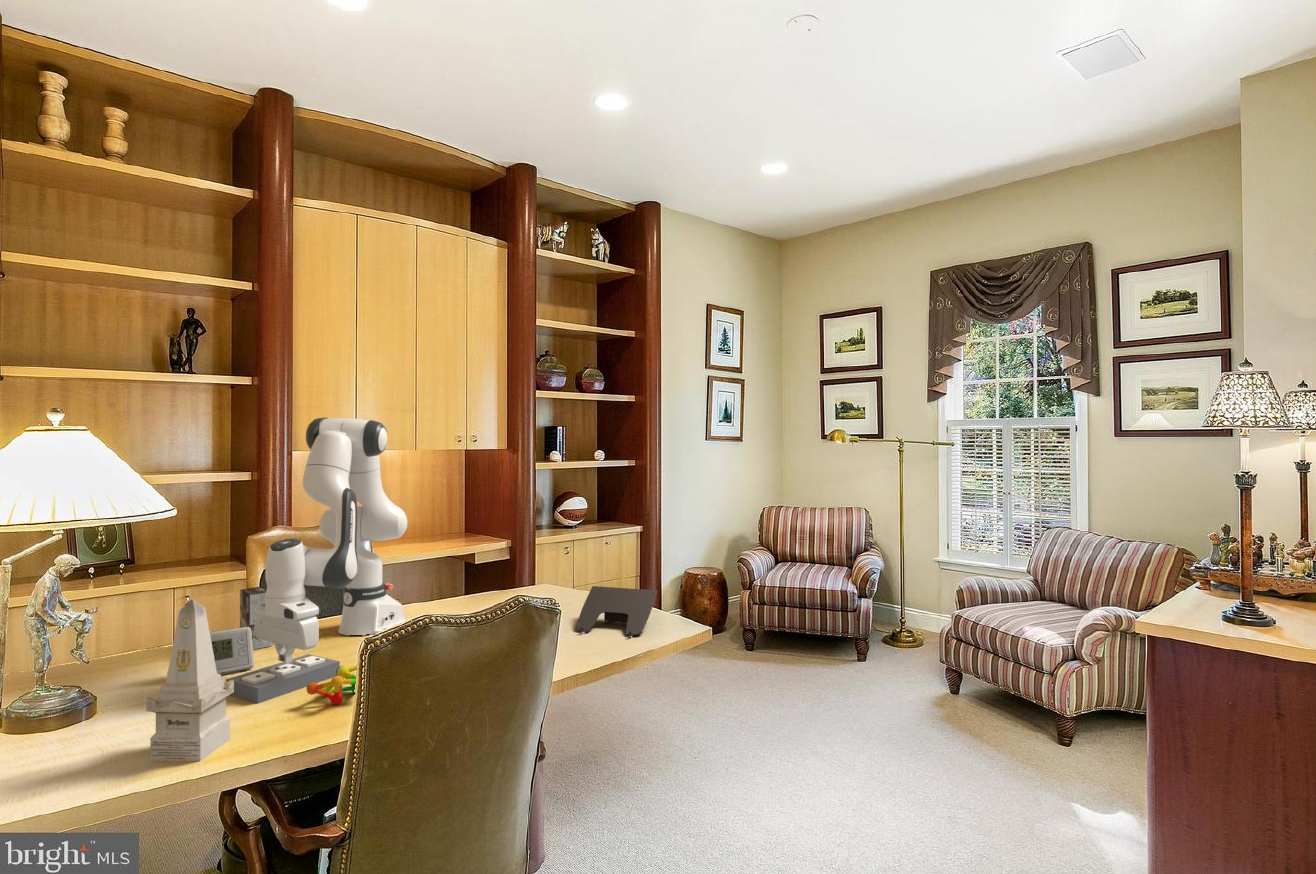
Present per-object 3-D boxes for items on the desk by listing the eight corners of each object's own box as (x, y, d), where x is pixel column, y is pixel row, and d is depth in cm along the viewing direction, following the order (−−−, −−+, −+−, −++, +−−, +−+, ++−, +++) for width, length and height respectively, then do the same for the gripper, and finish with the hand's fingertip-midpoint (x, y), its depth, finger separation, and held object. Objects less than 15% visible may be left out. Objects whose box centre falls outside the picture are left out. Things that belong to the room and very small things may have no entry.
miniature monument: (146, 761, 136) (146, 604, 136) (182, 738, 147) (183, 592, 146) (201, 762, 136) (202, 605, 136) (233, 738, 147) (234, 592, 146)
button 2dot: (312, 667, 187) (312, 655, 187) (325, 670, 185) (325, 658, 185) (295, 672, 183) (295, 660, 183) (308, 676, 181) (308, 663, 181)
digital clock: (178, 684, 177) (179, 641, 177) (181, 673, 185) (181, 632, 184) (254, 673, 185) (254, 632, 185) (253, 663, 193) (253, 624, 193)
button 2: (287, 675, 181) (287, 662, 181) (300, 678, 179) (300, 666, 179) (269, 681, 177) (269, 668, 177) (282, 684, 174) (282, 672, 174)
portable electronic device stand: (574, 649, 228) (570, 627, 224) (595, 602, 248) (591, 580, 244) (644, 655, 223) (641, 633, 219) (659, 606, 243) (657, 585, 239)
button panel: (308, 667, 190) (308, 654, 190) (339, 674, 185) (339, 661, 185) (226, 693, 171) (226, 679, 171) (258, 703, 165) (258, 688, 165)
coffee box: (273, 646, 208) (273, 591, 208) (249, 651, 203) (249, 594, 203) (262, 639, 214) (262, 585, 214) (238, 644, 209) (238, 589, 209)
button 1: (261, 683, 175) (261, 671, 175) (274, 687, 173) (274, 674, 173) (241, 690, 170) (241, 677, 170) (254, 694, 168) (254, 680, 168)
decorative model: (293, 688, 165) (341, 652, 178) (308, 721, 166) (355, 684, 179) (333, 682, 159) (379, 646, 173) (348, 717, 161) (393, 679, 174)
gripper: (247, 603, 180) (247, 657, 180) (300, 614, 170) (300, 672, 171) (270, 597, 185) (270, 650, 186) (323, 608, 176) (323, 664, 176)
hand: (285, 661), depth 178 cm, fingers closed
